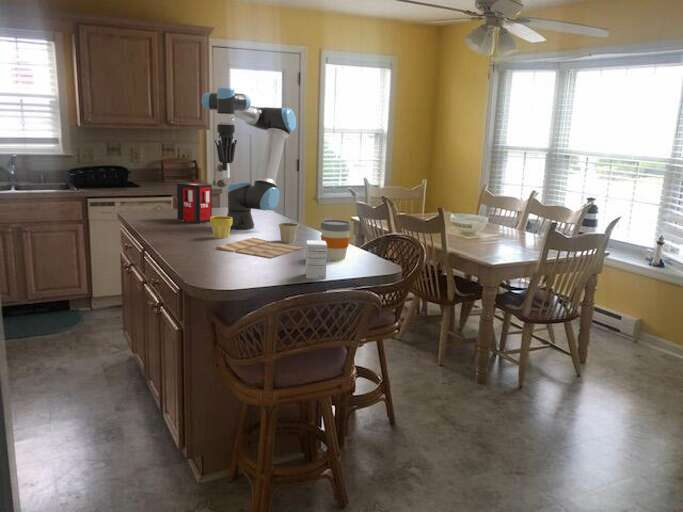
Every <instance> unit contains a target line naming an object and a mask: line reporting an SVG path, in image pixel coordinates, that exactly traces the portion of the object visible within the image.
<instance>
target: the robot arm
mask: <svg viewBox="0 0 683 512" xmlns="http://www.w3.org/2000/svg"><path fill="white" fill-rule="evenodd" d="M251 103H252V102H251V98H250V96H248V95H247V94H244V93H237V92H235V89H234V88H233V87H218V88H217V90H216V92H205V93H204V94H203V95H202V96H201V105H202V107H203V108H204V109H205V110H209V111H217V112H216V122H217V127H216V129H217V130H216V131H217V133H218V139H215V140H214V142H215V146H216V151H217V157H218V162H219V163H221V164H222V165H221V168H222V178H226V179H230V177H231V173H230V172H231V171H230V170H231V164H233V162H234V159H235V158H234V157H235V151H236V145H237V143H238V142H237V139H235V138H234V134H235V130H236V129H235V128H236V127H235V119H239V120H241V121H243V123H245V124H247V125H248V126H251V127H253V128H257V129H259V130H262V131H263V130H264V131H266V132H267V134H268V137H267V141H266V145H265V151H264V154H263V158H262V161H261V167H260V170H259V175H258V178H257V179H256V180H254V184H253V185H252V182H248V181H247V182H246V181H245V182H235V183H234V182H233V183H230V184H229V185H228V186H227V187H228V188H227V214H226V216H228V217H232V218H233V222H232V225H231V228H230V230H234V231H235V230H236V231H247V230H253V229H254V228H255V222H254V220H253V215H252V210H260V211H273V210H274V209H275V208H276V207H277V206H278V205H279V203H280V198H281V197H280V196H281V195H280V194H281V192H280V190H279V189H278V184H277V183H276V181H277V177H278V172H279V168H280V163H281V160H282V159H281V158H282V155H283V150H284V146H285V141H286V139H288V138H289V137H290V133H292V132H294V131H295V130H296V128H297V118H296V115H295V113H294V111H293V110H292V109H291V108H290V107H289V108H288V107H287V108H286V107H268V106H266V107H259V106H258V107H257V106H253V105H251Z"/></svg>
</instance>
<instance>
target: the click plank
mask: <svg viewBox="0 0 683 512" xmlns="http://www.w3.org/2000/svg"><path fill="white" fill-rule="evenodd" d="M269 242H271V241H270V240H266V239H260V238H257V237H251V238H247V239H242V240H238V241H233V242H229V243H225V244H221V245H217V246H216V247H215V249H216V250H218V251H224V252H230V253H235V251H238V250H242V249H246V248H250V247H253V246H257V245H261V244H265V243H269Z"/></svg>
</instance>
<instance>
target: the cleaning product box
mask: <svg viewBox="0 0 683 512" xmlns="http://www.w3.org/2000/svg"><path fill="white" fill-rule="evenodd" d="M212 186H213V185H212V184H206V183H199V182H198V183H197V182H192V181H191V182H190V181H188V182H177V183H176V196H177V198H176V199H177V200H176V204H177V207H176V209H177V213H176V214H177V220H178V219H179V220H184V221H183V222H185V221H190V222H189V223H191V222H194V223H193V224H196V223H199V224H198V225H201V224H200V223H203V224H207V223H206V222H209V223H210V217H212V216H213V215H212V214H213V213H212V212H213V211H212V209H213V208H212V205H213V204H212V198H213V197H212V195H213V194H212V191H213V190H212ZM179 220H178V221H179Z"/></svg>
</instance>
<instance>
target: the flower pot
mask: <svg viewBox="0 0 683 512" xmlns="http://www.w3.org/2000/svg"><path fill="white" fill-rule="evenodd" d="M277 224H278V228H279V234H280V235H279V236H280V243H284V244H291V243H295V242H296V237H297V231H298V228H299V226H300V225H299V223H295V222H278V223H277Z"/></svg>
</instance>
